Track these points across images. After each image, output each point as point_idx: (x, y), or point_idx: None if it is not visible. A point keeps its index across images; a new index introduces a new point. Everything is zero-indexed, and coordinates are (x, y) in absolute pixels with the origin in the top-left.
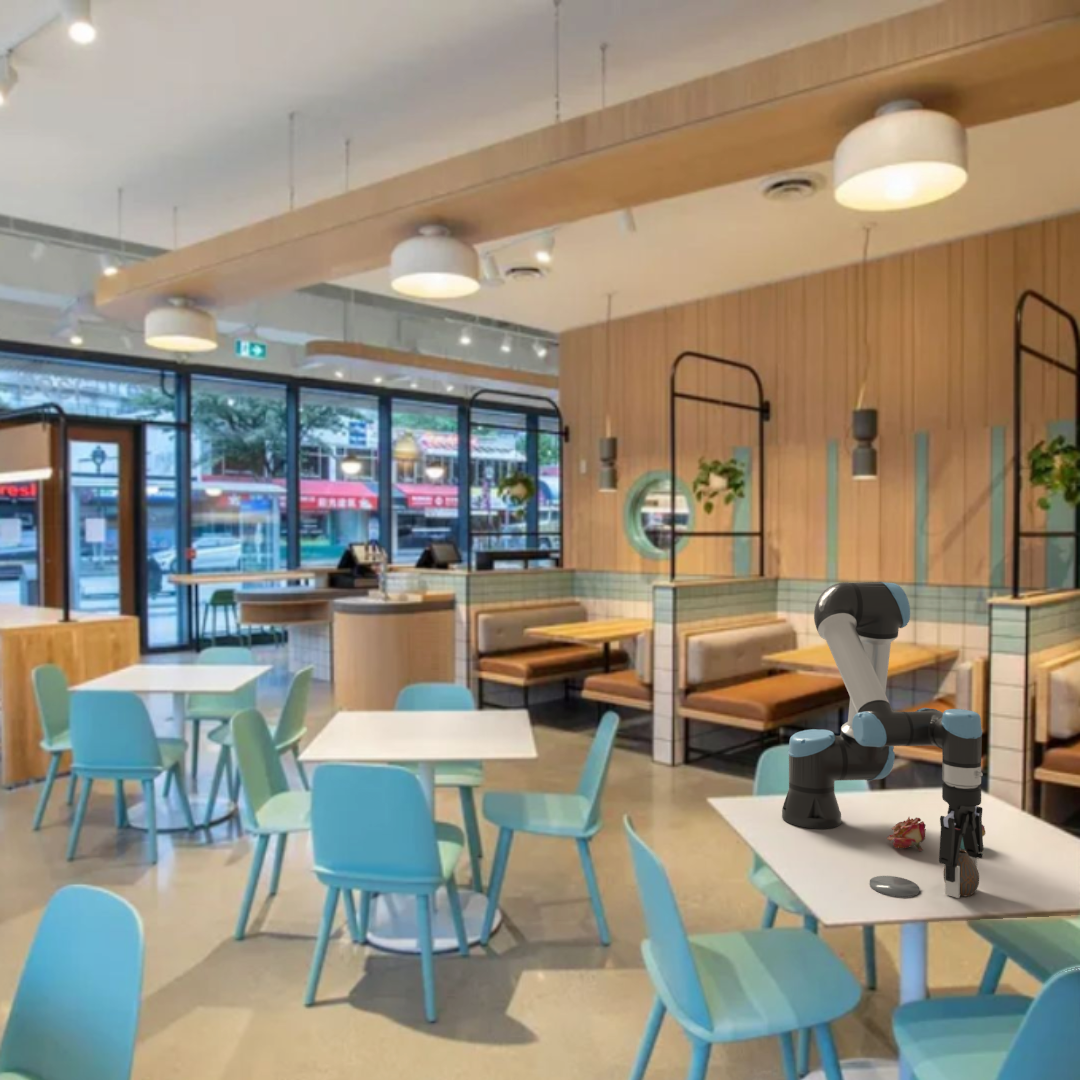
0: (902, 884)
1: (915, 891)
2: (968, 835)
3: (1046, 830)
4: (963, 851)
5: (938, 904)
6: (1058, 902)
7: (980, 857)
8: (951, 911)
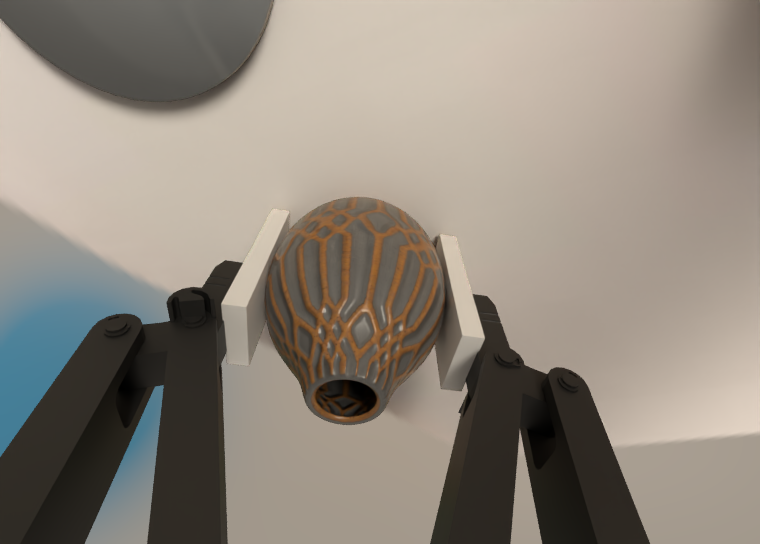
0: None
1: (140, 92)
2: (438, 529)
3: None
4: (388, 395)
5: (150, 215)
6: None
7: (461, 410)
8: (138, 271)
